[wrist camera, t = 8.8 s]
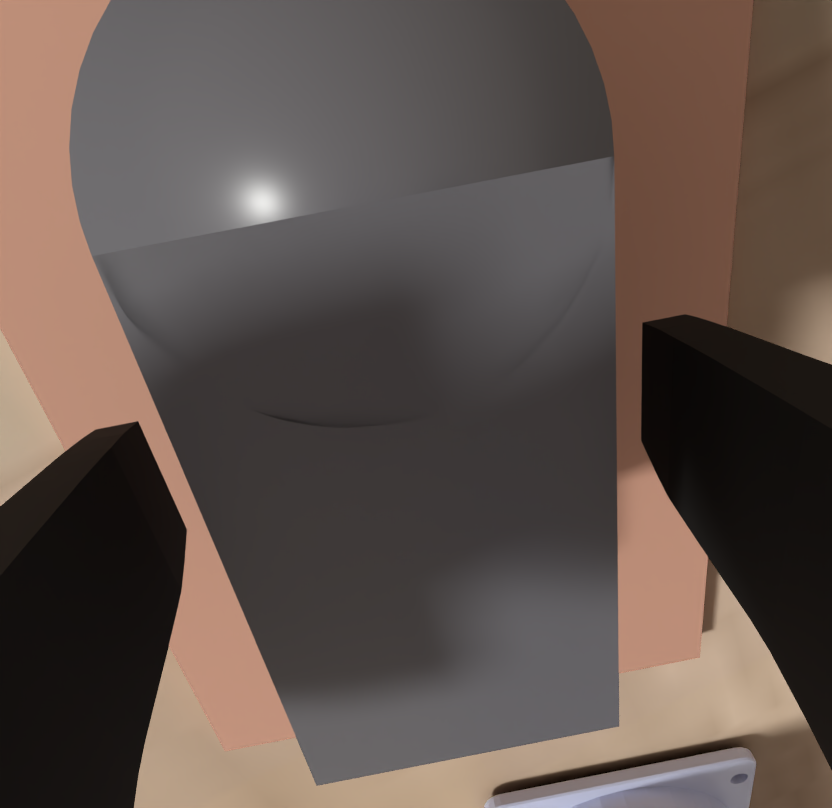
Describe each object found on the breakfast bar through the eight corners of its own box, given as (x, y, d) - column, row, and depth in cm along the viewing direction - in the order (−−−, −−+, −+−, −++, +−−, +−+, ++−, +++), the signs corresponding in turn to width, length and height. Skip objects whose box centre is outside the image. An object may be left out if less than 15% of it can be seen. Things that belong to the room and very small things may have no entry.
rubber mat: (689, 638, 18) (699, 657, 18) (228, 729, 18) (224, 751, 18) (774, -608, 7) (806, -649, 7) (-349, -394, 7) (-399, -422, 7)
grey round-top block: (539, 572, 15) (619, 800, 11) (341, 610, 15) (346, 855, 11) (476, -110, 9) (611, -181, 5) (134, -45, 9) (-43, -59, 5)
